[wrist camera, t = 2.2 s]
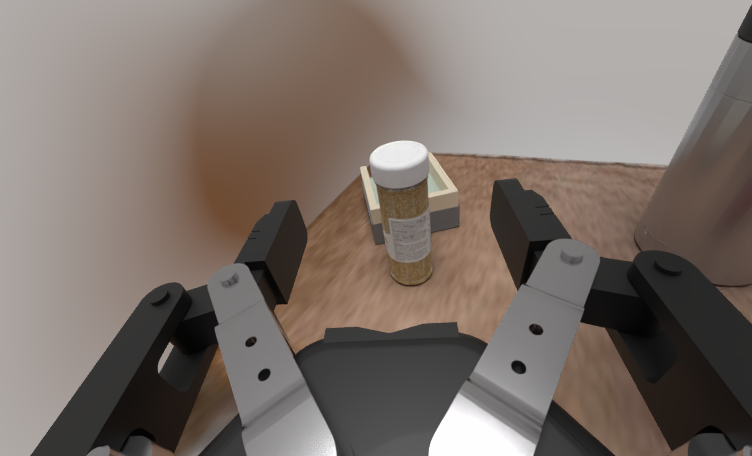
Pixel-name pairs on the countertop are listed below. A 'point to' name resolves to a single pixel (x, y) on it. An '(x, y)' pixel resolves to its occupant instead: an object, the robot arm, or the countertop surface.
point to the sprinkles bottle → (404, 208)
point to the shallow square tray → (439, 197)
